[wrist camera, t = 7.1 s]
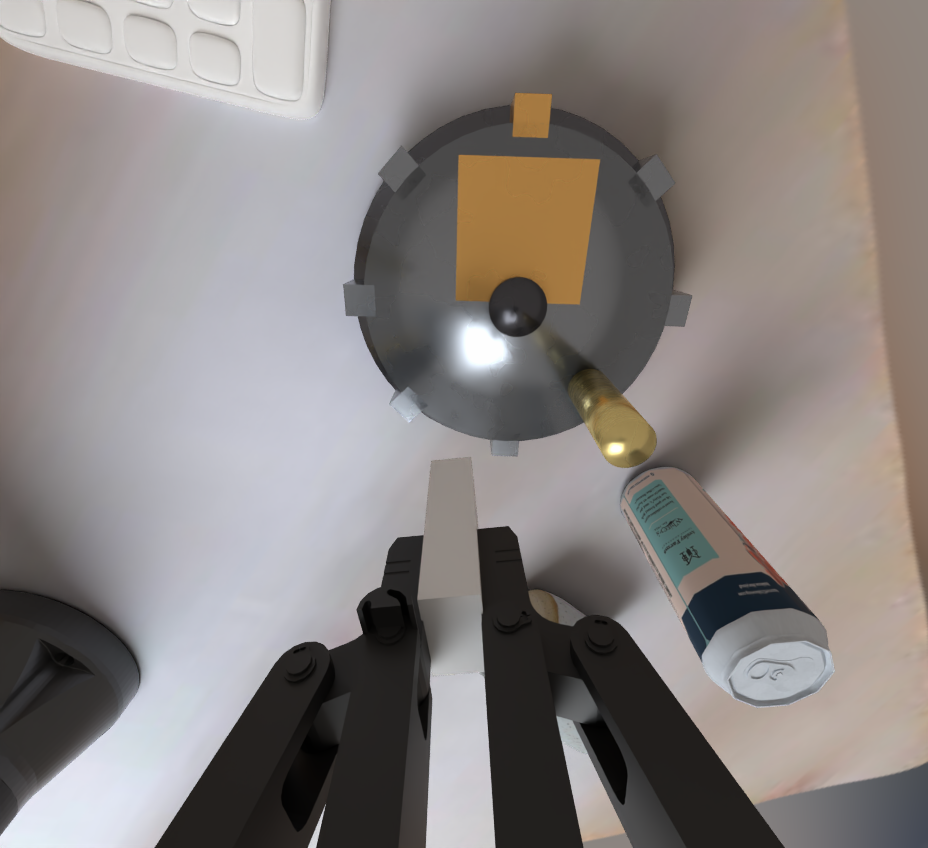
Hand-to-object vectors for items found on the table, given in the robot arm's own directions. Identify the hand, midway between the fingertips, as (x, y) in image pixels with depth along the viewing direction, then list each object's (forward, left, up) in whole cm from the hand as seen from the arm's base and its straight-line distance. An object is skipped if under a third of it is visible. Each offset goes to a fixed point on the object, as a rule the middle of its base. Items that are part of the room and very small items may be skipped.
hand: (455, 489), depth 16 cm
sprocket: (+1, +6, -9) cm, 11 cm away
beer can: (+13, -4, -9) cm, 17 cm away
